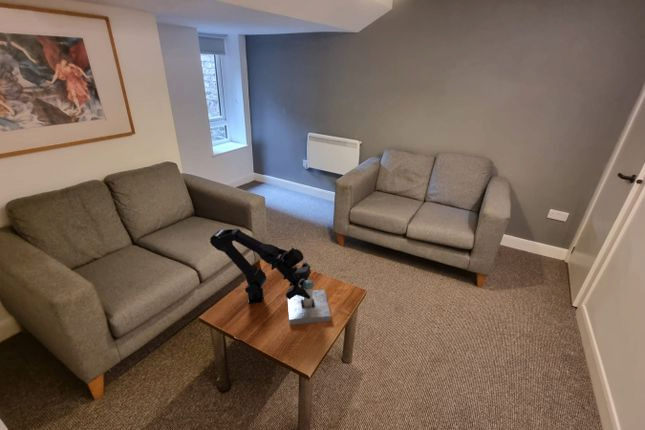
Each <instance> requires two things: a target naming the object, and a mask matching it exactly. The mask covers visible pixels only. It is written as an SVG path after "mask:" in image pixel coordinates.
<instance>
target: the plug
mask: <svg viewBox="0 0 645 430" xmlns="http://www.w3.org/2000/svg"><path fill="white" fill-rule="evenodd" d="M303 285H304V290H305V291H306V292H307V293H308V295H309V296H310V299H307V298H305V297H304V305H303V309H304V308H313V304H312V298H313V290H314V280H311V279H308V280H305V281H304V282H303Z"/></svg>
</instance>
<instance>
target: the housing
mask: <svg viewBox="0 0 645 430" xmlns="http://www.w3.org/2000/svg"><path fill="white" fill-rule="evenodd" d="M325 290H326V289H315V290H314V289H313V298H312V305H313V307H312V308H304V307H303V306H304V297H302V296H298V295H296V296H294V297H293V298H291V299H288V298H287V297H286V298H287V299H286V300H287V312H288V324H289V326H291V325H302V324H313V323H324V322H325V323H327V322H331V321H332V320H331V318H332V314H331V310H330V307H329V303H328V300H327V294H326V291H325ZM302 305H303V306H302Z"/></svg>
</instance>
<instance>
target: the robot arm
mask: <svg viewBox="0 0 645 430" xmlns="http://www.w3.org/2000/svg"><path fill="white" fill-rule="evenodd" d="M209 242H210V244H211V245H212V247H214V248H215V249H216V250H217V251H220V252H223V253H224V254H225V255H226V256H227V257H228V258H229V259H230V260H231V261H232V262H233V263H234V265H235V266H236V267H237V268H238V269H239V270H240V272H242V274H244V276H245V278H246V283H247V285H246V287H245V288H244V291H245V293H247V296H248V297H247V298H248V299H247V300H248V301H247V303H248V304H258V303H263V299H264V288H263V286H264V284H265V283H266V282H267V278H268V277H267V275H266V272H264V271H263V269H262V268H260V267H259V268H258V269H257V268H255V267H254V266H252V264H251V263H250V262H249V261H248V260H247V258H246V257H245V256H244V255H243V254H242V253H241V252H240V251H239V250H238V249H237V248H236V247H235V245H234V243H233V242H236V243H238V244H240V245H241V246H243V247H245V248H247V249H249V250H250V251H253V252H254V253H256V254H257V255H258V257H260V259H261V260H262V261H264V262H265V263H267V264H268V265H270V267H271V271H273V270H274V269H276V270H277V271H278V272H279V273H280V274H281V275H282V277H283V278H282V279H283V281H285V280H286V281H288V283H289V286H290V288H288V289H287V291H286V293H285V297H286V298H288V299H291V298H293V297H294V296H296V295H298V296H302V297H305V298H307V299H310V296H309V295H308V293H307V292H306V291H305V290H304V285H303V282H304V281H305V280H309V278H310V276H311V273H312V271H311V266H310V265H309V264H308V262H303V263H302V265H301V267H300V268H298V267H297V264H299V263H301V262H302V261H303V260H304V253H303V252H302V251H301V250H299V249H297V248H294V247H292V248H290V249H289V250H287V249H283V248H279V247H278V246H275V245H273V244H269V243H264V242H261V241H260V240H258V239H257V238H254V237H252V236H251V235H248V234H247V233H245V232H243V231H241V229H240V228H233V229H231V228H228V229H219V230H218V231H216V232H215V233H214V234H213V235H212V236H211V237H210V241H209Z"/></svg>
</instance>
